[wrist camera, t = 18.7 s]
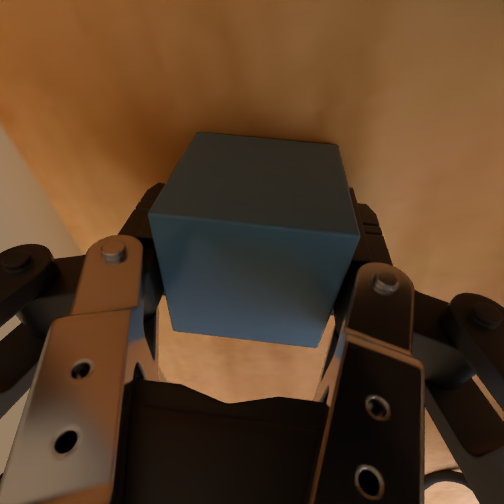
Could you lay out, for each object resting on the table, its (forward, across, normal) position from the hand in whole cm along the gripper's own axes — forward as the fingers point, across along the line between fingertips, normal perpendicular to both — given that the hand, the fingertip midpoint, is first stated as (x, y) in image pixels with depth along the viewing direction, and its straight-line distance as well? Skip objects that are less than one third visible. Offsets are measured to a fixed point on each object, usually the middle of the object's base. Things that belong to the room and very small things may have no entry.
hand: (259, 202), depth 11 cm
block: (0, 0, 0) cm, 0 cm away
